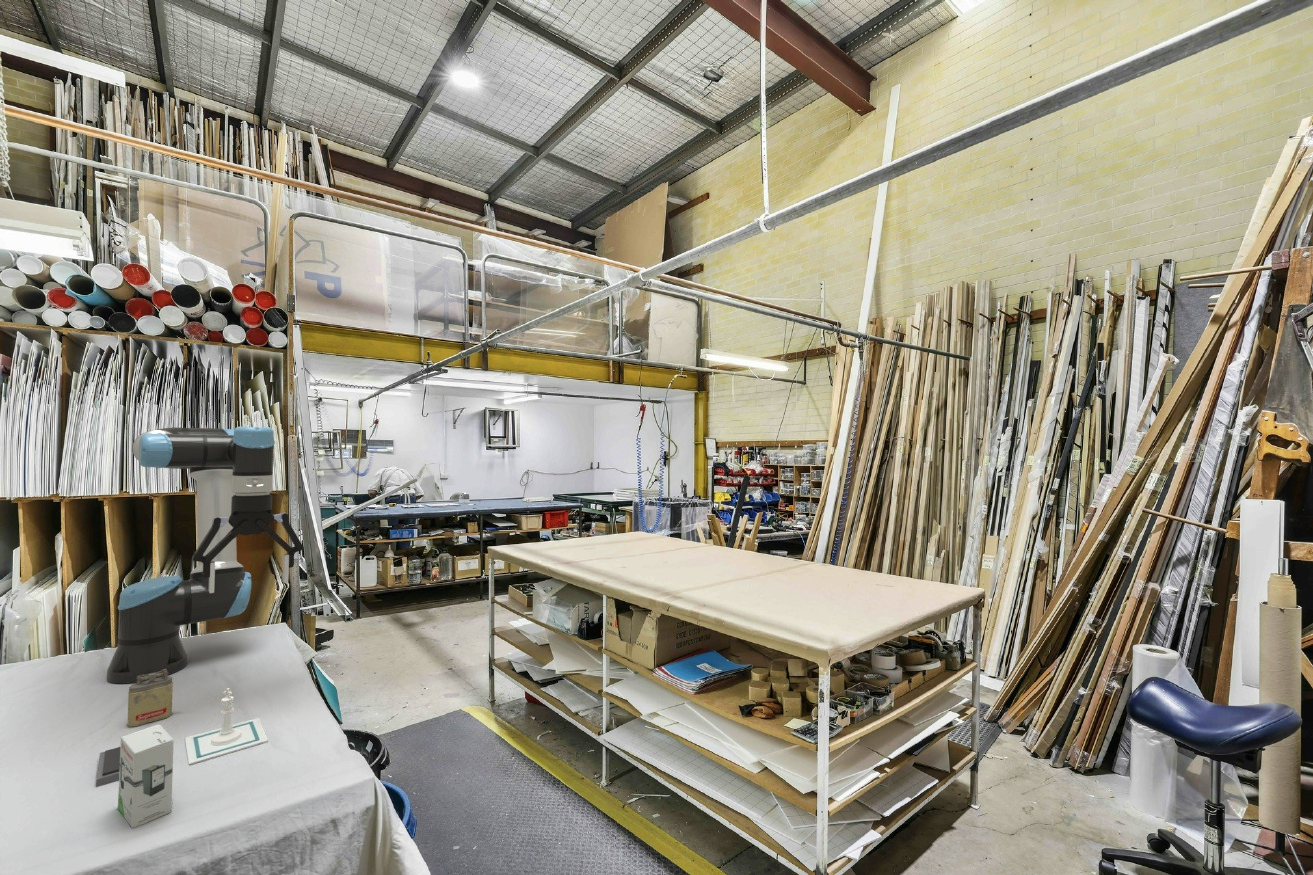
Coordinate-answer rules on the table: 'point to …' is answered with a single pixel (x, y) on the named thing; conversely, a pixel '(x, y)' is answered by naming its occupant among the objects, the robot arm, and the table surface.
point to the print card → (204, 750)
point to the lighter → (150, 698)
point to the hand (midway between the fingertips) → (249, 586)
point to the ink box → (145, 775)
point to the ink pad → (108, 766)
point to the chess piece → (226, 723)
